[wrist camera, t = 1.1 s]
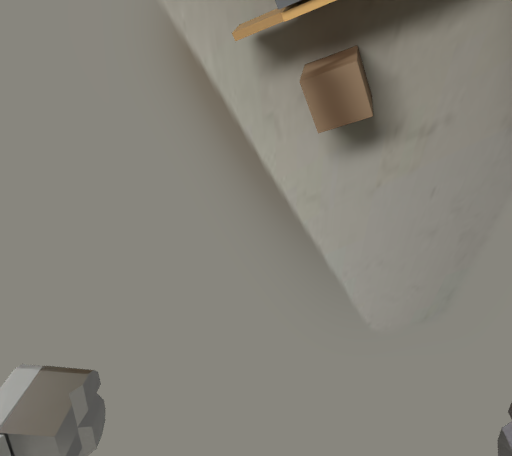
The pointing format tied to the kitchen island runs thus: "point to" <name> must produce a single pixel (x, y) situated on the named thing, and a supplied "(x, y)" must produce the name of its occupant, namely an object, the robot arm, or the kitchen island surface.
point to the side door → (277, 17)
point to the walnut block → (337, 90)
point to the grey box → (284, 3)
